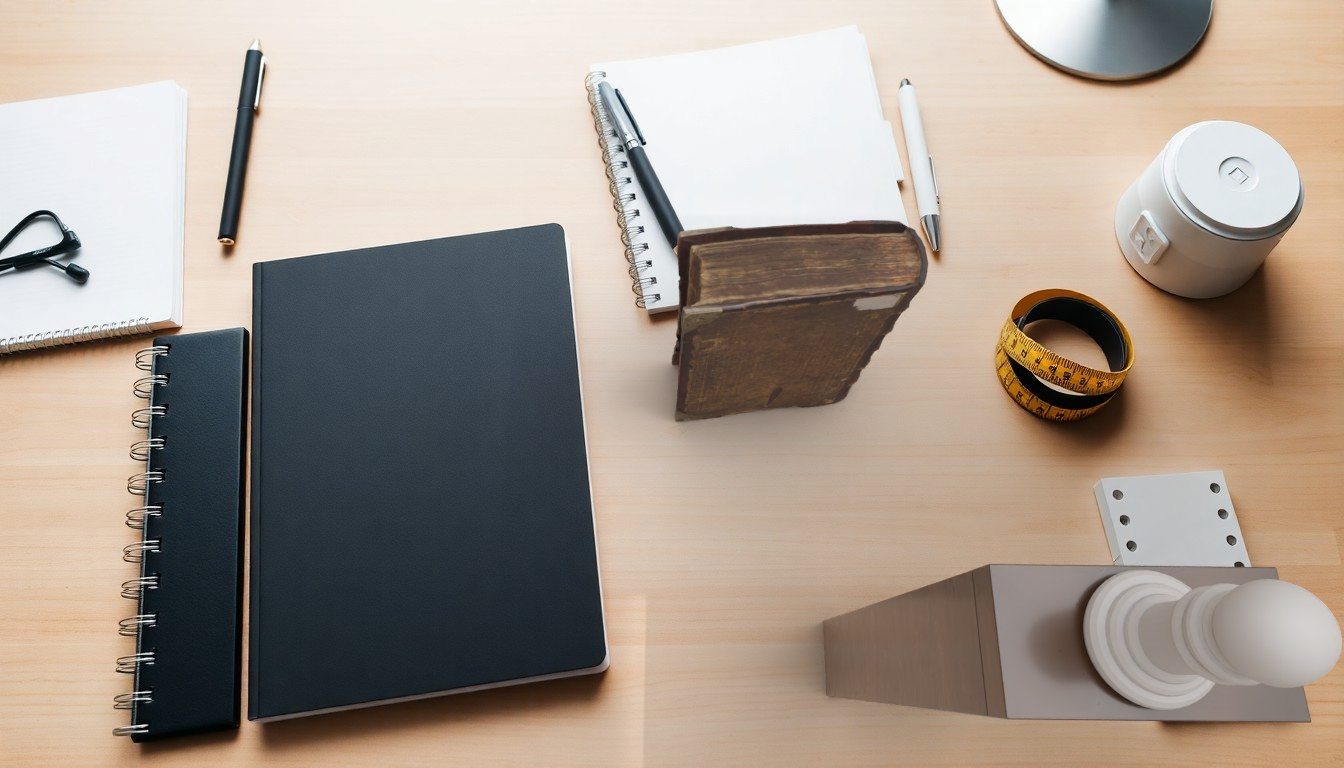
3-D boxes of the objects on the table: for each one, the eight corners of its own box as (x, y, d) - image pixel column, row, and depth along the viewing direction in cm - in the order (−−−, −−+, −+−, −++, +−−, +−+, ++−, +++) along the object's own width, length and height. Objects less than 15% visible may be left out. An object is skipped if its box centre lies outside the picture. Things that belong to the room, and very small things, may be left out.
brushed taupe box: (964, 622, 70) (1276, 567, 34) (972, 698, 68) (1312, 722, 32) (823, 620, 70) (988, 563, 34) (826, 696, 68) (1006, 719, 32)
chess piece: (1240, 657, 33) (1438, 651, 25) (1144, 738, 32) (1316, 760, 24) (1145, 546, 35) (1301, 504, 26) (1050, 619, 34) (1181, 601, 25)
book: (848, 354, 78) (927, 216, 55) (853, 426, 76) (938, 315, 52) (671, 353, 78) (674, 215, 55) (671, 426, 76) (674, 313, 52)
